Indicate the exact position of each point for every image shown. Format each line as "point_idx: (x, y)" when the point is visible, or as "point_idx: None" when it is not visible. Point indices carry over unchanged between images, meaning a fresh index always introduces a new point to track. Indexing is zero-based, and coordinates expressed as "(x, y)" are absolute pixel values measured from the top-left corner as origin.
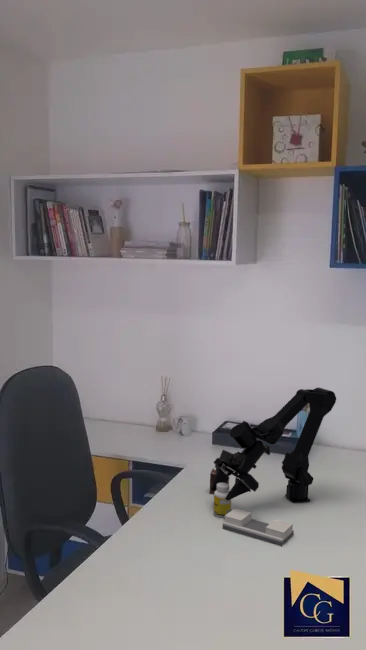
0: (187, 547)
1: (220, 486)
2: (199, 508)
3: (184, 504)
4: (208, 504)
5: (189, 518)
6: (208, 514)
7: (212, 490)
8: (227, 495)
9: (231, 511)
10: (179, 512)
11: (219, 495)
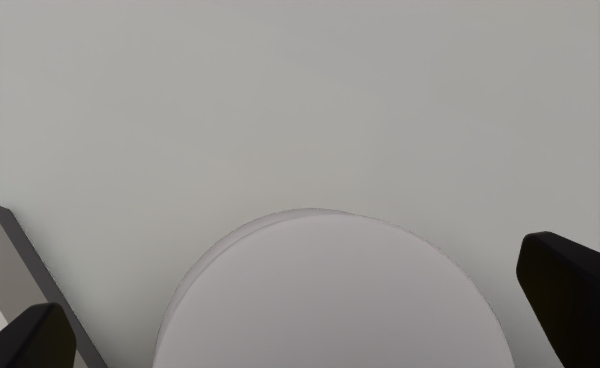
0: None
1: (245, 271)
2: (482, 185)
3: (587, 95)
4: None
5: (304, 33)
6: None
7: (519, 255)
8: (2, 345)
9: None
10: (434, 4)
11: (213, 249)
